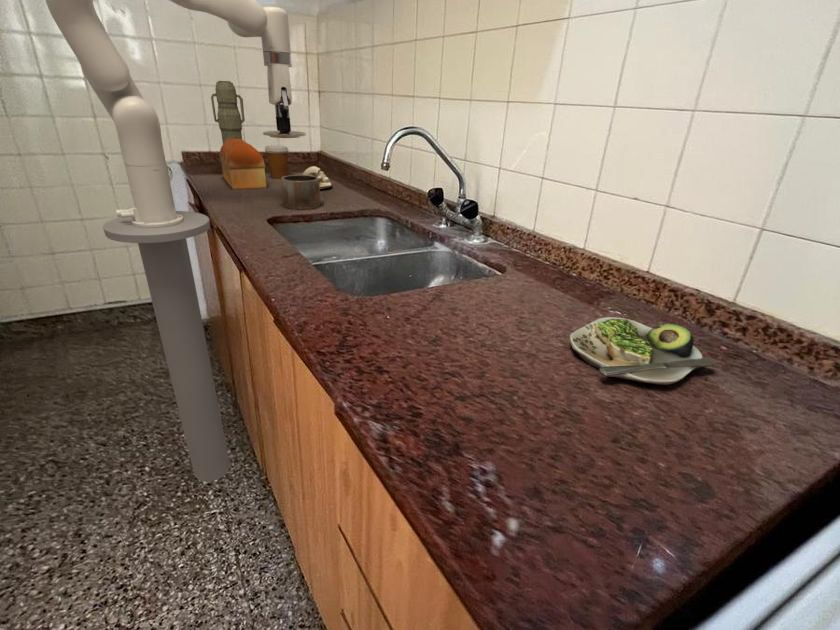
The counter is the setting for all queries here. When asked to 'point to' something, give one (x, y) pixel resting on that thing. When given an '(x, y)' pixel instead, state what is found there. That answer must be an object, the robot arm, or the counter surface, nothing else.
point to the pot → (300, 191)
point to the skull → (317, 173)
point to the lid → (284, 133)
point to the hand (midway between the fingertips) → (283, 130)
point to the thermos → (228, 110)
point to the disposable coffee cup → (277, 160)
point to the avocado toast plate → (638, 350)
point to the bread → (242, 165)
